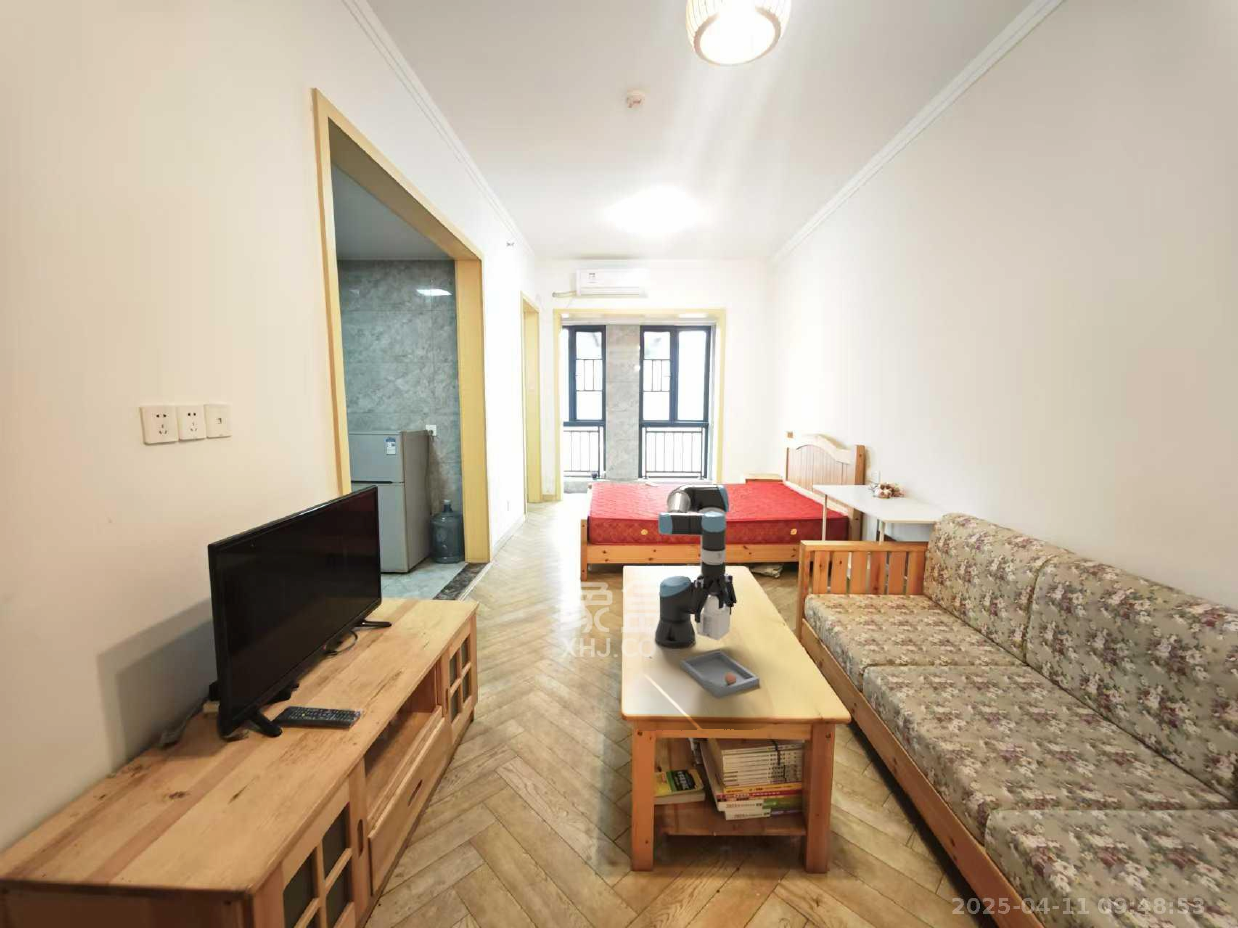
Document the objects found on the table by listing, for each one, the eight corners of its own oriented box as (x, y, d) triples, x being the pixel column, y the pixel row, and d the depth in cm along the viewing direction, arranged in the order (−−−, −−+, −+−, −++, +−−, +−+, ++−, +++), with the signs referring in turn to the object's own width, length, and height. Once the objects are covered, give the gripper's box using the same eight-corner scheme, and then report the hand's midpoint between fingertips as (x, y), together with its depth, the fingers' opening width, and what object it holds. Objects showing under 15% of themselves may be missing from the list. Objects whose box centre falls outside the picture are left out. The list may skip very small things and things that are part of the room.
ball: (722, 682, 149) (722, 672, 148) (731, 680, 150) (731, 669, 150) (729, 688, 145) (729, 677, 145) (738, 685, 147) (738, 674, 147)
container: (708, 625, 160) (708, 588, 158) (729, 632, 155) (730, 593, 154) (696, 634, 154) (696, 595, 153) (718, 641, 149) (718, 601, 148)
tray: (680, 669, 159) (680, 660, 158) (719, 657, 166) (719, 649, 165) (717, 701, 141) (717, 691, 141) (759, 687, 148) (759, 677, 147)
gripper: (690, 570, 144) (690, 640, 146) (748, 559, 153) (748, 625, 156) (677, 563, 150) (677, 630, 153) (733, 553, 160) (733, 617, 162)
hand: (713, 628), depth 154 cm, fingers closed on container, 10 cm apart
